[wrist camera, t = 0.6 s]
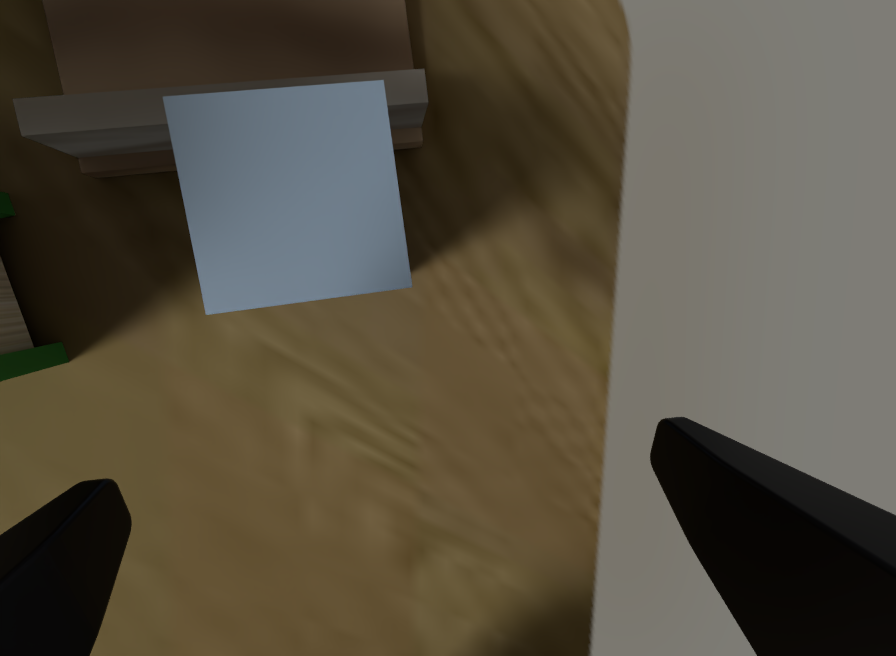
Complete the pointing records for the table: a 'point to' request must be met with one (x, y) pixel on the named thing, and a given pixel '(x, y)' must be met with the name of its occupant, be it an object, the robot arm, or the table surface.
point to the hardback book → (20, 328)
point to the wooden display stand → (207, 68)
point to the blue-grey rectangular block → (289, 193)
